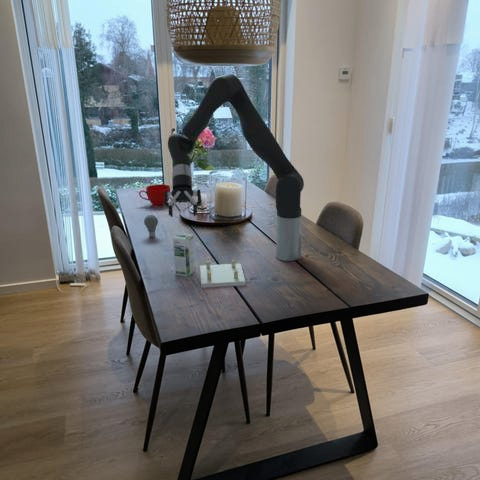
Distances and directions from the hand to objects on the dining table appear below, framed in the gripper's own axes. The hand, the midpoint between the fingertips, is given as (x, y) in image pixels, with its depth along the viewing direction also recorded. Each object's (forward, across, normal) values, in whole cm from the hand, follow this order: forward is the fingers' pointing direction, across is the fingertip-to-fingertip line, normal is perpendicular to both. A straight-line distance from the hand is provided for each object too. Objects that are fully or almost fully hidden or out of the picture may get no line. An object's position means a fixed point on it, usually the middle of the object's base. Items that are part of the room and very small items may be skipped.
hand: (183, 215), depth 164 cm
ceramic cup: (-42, -17, +68) cm, 82 cm away
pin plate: (+25, +13, +1) cm, 28 cm away
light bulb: (-7, -15, +32) cm, 36 cm away
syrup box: (+22, 0, +4) cm, 22 cm away
